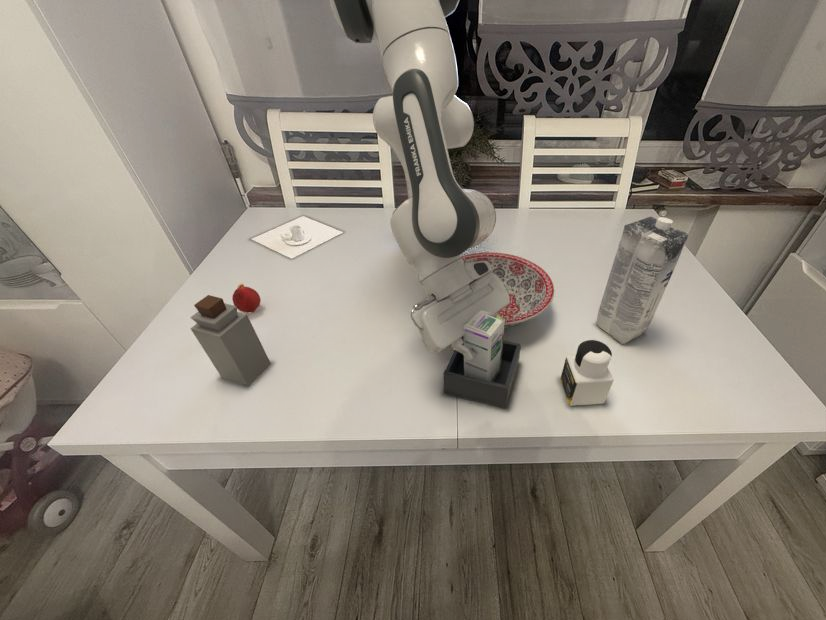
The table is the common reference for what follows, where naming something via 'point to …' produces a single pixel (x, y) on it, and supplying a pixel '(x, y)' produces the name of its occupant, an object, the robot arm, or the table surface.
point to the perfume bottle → (229, 340)
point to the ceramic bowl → (518, 285)
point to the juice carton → (639, 276)
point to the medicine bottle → (587, 374)
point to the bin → (479, 388)
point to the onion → (246, 299)
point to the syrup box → (484, 345)
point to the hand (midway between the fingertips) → (486, 348)
